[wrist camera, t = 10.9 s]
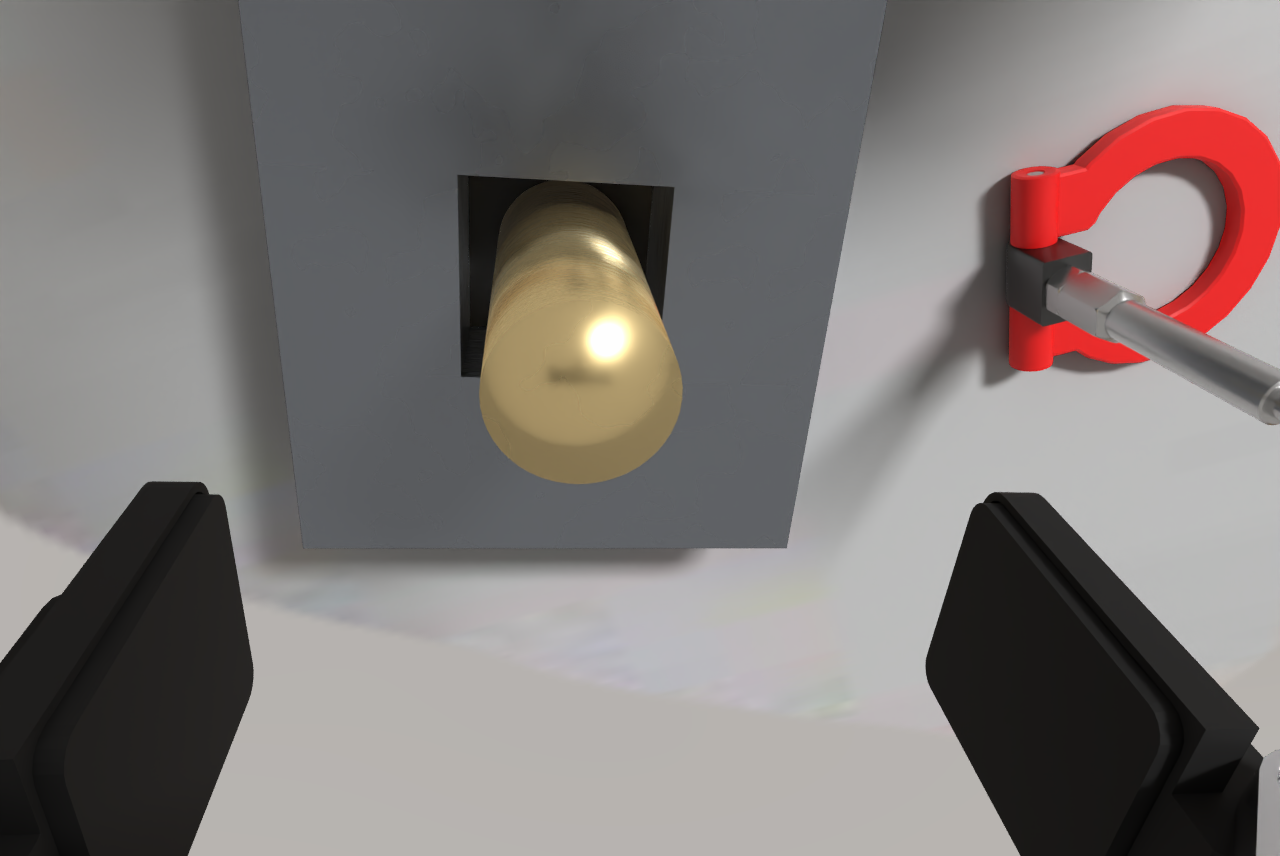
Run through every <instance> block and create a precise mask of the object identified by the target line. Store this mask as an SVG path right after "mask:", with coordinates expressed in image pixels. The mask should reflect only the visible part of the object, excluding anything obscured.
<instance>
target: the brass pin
mask: <svg viewBox="0 0 1280 856" xmlns="http://www.w3.org/2000/svg"><path fill="white" fill-rule="evenodd" d="M682 392H683V386H682V376H681V372H680V368H679V364H678V361H677V359H676V356H675V353H674V351H673V348H672V346H671V343H670V340H669V338H668V335H667V332H666V330H665V327H664V325H663V322H662V319H661V317H660V314H659V312H658V309H657V306H656V304H655V301H654V298H653V296H652V293H651V291H650V288H649V285H648V283H647V280H646V278H645V275H644V272H643V270H642V267H641V265H640V262H639V259H638V257H637V254H636V251H635V249H634V246H633V244H632V241H631V238H630V236H629V233H628V231H627V228H626V225H625V223H624V220H623V218H622V216H621V214H620V212H619V210H618V209H617V207H616V206H615V205H614V203H613V202H612V201H611V200H610V199H609V198H608V197H607V196H606V195H605V194H603V193H602V192H601V191H599V190H598V189H596V188H594V187H592V186H590V185H588V184H585V183H583V182H577V181H559V180H551V181H546V182H543V183H540V184H537V185H535V186H533V187H531V188H529V189H528V190H526V191H525V192H523V193H522V194H521V195H520V196H518V197H517V199H516V200H515V201H514V202H513V203H512V204H511V206H510V207H509V208H508V210H507V212H506V214H505V216H504V217H503V220H502V223H501V226H500V231H499V237H498V244H497V252H496V260H495V268H494V276H493V284H492V291H491V299H490V307H489V315H488V323H487V331H486V338H485V346H484V354H483V362H482V370H481V378H480V388H479V400H480V409H481V413H482V417H483V420H484V423H485V425H486V428H487V430H488V432H489V434H490V436H491V437H492V439H493V441H494V442H495V443H496V445H497V446H498V447H499V449H500V450H501V451H502V452H503V453H504V454H505V455H506V456H507V457H508V458H509V459H510V460H511V461H513V462H514V463H515V464H517V465H518V466H519V467H521V468H523V469H524V470H526V471H528V472H529V473H532V474H534V475H536V476H539V477H541V478H544V479H547V480H551V481H555V482H560V483H567V484H591V483H597V482H603V481H607V480H610V479H614V478H617V477H619V476H622V475H624V474H627V473H628V472H630V471H632V470H634V469H636V468H638V467H639V466H640V465H642V464H643V463H645V462H646V461H647V460H649V459H650V458H651V457H652V456H653V455H654V454H655V453H656V452H657V451H658V450H659V449H660V448H661V446H662V445H663V444H664V443H665V441H666V440H667V438H668V437H669V435H670V434H671V432H672V430H673V428H674V426H675V424H676V422H677V419H678V416H679V413H680V409H681V403H682Z"/></svg>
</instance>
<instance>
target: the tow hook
mask: <svg viewBox="0 0 1280 856" xmlns="http://www.w3.org/2000/svg"><path fill="white" fill-rule="evenodd" d="M1176 158H1195V159H1198V160H1201V161H1202V162H1204V163H1205V164H1206V165H1207V166H1208V167H1210V168H1211V169H1212V170H1213V171H1214V172H1215V173H1216V175H1217V177H1218V179H1219V180H1220V182H1221V184H1222V186H1223V188H1224V193H1225V198H1226V204H1227V212H1226V223H1225V229H1224V232H1223V235H1222V238H1221V241H1220V244H1219V247H1218V249H1217V251H1216V253H1215V255H1214V256H1213V258H1212V260H1211V262H1210V264H1209V265H1208V267H1207V269H1206V270H1205V271H1204V272H1203V273H1202V275H1201V276H1200V277H1199V278H1198V279H1197V281H1196V282H1195V283H1194V284H1193V285H1192V286H1191V287H1190V288H1189V289H1188V290H1186V291H1185V292H1184V293H1183V294H1182V295H1180V296H1179V297H1178V298H1177V299H1176V300H1174V301H1173V302H1171V303H1169V304H1167V305H1165V306H1163V307H1162V308H1160V309H1158V310H1155V309H1153V308H1151V307H1149V306H1147V305H1145V299H1144V297H1143V296H1141V295H1139V294H1137V293H1134V292H1132V291H1130V290H1128V289H1126V288H1124V287H1122V286H1119V285H1117V284H1115V283H1113V282H1111V281H1109V280H1107V279H1104V278H1102V277H1100V276H1098V275H1096V274H1094V273H1092V272H1091V270H1092V253H1091V252H1090V251H1087V250H1085V249H1083V248H1081V247H1078V246H1076V245H1074V244H1071V243H1069V242H1067V241H1065V240H1062V239H1060V238H1058V237H1061V236H1065V235H1069V234H1073V233H1077V232H1081V231H1085V230H1088V229H1089V228H1090V227H1091V226H1092V225H1093V224H1095V222H1096V220H1097V218H1098V216H1099V214H1100V213H1101V211H1102V210H1103V209H1104V208H1105V206H1106V205H1107V204H1108V202H1109V201H1110V200H1111V198H1112V197H1113V196H1114V195H1115V193H1116V192H1117V191H1119V190H1120V189H1121V188H1122V187H1123V186H1124V185H1125V184H1127V183H1128V182H1129V181H1130V180H1131V179H1132V178H1133V177H1135V176H1136V175H1138V174H1140V173H1142V172H1143V171H1145V170H1147V169H1149V168H1150V167H1152V166H1154V165H1156V164H1159V163H1163V162H1166V161H1169V160H1173V159H1176ZM1279 228H1280V161H1279V159H1278V157H1277V155H1276V153H1275V151H1274V149H1273V147H1272V145H1271V143H1270V141H1269V139H1268V137H1267V136H1266V135H1265V134H1264V133H1263V132H1262V131H1260V130H1259V129H1258V128H1257V127H1256V126H1255V125H1254V124H1253V123H1251V122H1250V121H1249V120H1248V119H1247V118H1245V117H1243V116H1240V115H1237V114H1234V113H1231V112H1229V111H1226V110H1223V109H1220V108H1216V107H1210V106H1204V105H1172V106H1168V107H1165V108H1161V109H1158V110H1155V111H1151V112H1148V113H1144V114H1141V115H1138V116H1136V117H1134V118H1133V119H1131V120H1129V121H1127V122H1126V123H1124V124H1122V125H1121V126H1119V127H1117V128H1115V129H1114V130H1112V131H1110V132H1108V133H1107V134H1105V135H1104V136H1103V137H1102V138H1101V139H1100V140H1099V141H1097V142H1096V143H1095V144H1094V145H1093V146H1092V147H1091V148H1090V149H1088V150H1087V151H1086V152H1085V153H1084V154H1083V155H1082V156H1081V157H1080V158H1078V159H1077V160H1076V162H1075V163H1074V164H1073V165H1069V166H1065V167H1060V168H1055V167H1047V166H1038V167H1029V168H1024V169H1021V170H1018V171H1015V172H1013V173H1012V174H1011V214H1010V242H1009V243H1008V245H1007V276H1006V301H1007V304H1008V305H1009V306H1010V308H1009V365H1010V366H1011V367H1012V368H1014V369H1017V370H1021V371H1040V370H1044V369H1047V368H1049V367H1050V366H1051V365H1052V364H1053V356H1057V355H1061V354H1065V353H1069V352H1073V351H1077V352H1078V353H1080V354H1082V355H1083V356H1085V357H1087V358H1091V359H1095V360H1099V361H1103V362H1107V363H1111V364H1120V363H1140V362H1144V361H1148V360H1152V361H1154V362H1156V363H1157V364H1159V365H1161V366H1163V367H1164V368H1166V369H1168V370H1170V371H1172V372H1173V373H1175V374H1177V375H1179V376H1181V377H1182V378H1184V379H1186V380H1188V381H1190V382H1191V383H1193V384H1195V385H1197V386H1198V387H1200V388H1202V389H1204V390H1206V391H1207V392H1209V393H1211V394H1213V395H1215V396H1216V397H1218V398H1220V399H1222V400H1224V401H1225V402H1227V403H1229V404H1231V405H1233V406H1234V407H1236V408H1238V409H1240V410H1241V411H1243V412H1245V413H1247V414H1249V415H1250V416H1252V417H1254V418H1256V419H1258V420H1259V421H1261V422H1263V423H1265V424H1267V425H1278V424H1280V369H1278V368H1276V367H1274V366H1272V365H1270V364H1268V363H1266V362H1263V361H1261V360H1259V359H1257V358H1255V357H1253V356H1251V355H1249V354H1247V353H1245V352H1243V351H1241V350H1238V349H1236V348H1234V347H1232V346H1230V345H1228V344H1226V343H1224V342H1222V341H1220V340H1218V339H1216V338H1213V337H1211V336H1209V335H1207V334H1205V333H1206V332H1208V331H1209V330H1210V329H1211V328H1213V327H1214V326H1215V325H1216V324H1217V323H1219V322H1220V321H1221V320H1222V319H1224V318H1225V317H1226V316H1227V315H1228V314H1229V313H1230V312H1231V311H1232V309H1233V308H1234V307H1235V306H1236V305H1237V304H1238V303H1239V301H1240V300H1241V299H1242V298H1243V297H1244V296H1245V294H1246V293H1247V292H1248V291H1249V290H1250V289H1251V287H1252V285H1253V284H1254V282H1255V280H1256V279H1257V277H1258V275H1259V273H1260V272H1261V270H1262V268H1263V267H1264V265H1265V263H1266V262H1267V260H1268V258H1269V256H1270V253H1271V250H1272V247H1273V245H1274V242H1275V239H1276V236H1277V233H1278V230H1279Z"/></svg>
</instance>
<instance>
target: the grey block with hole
mask: <svg viewBox="0 0 1280 856" xmlns="http://www.w3.org/2000/svg"><path fill="white" fill-rule="evenodd" d="M238 3H239V12H240V20H241V28H242V37H243V45H244V54H245V62H246V71H247V79H248V87H249V96H250V104H251V113H252V121H253V130H254V138H255V146H256V155H257V163H258V172H259V180H260V189H261V197H262V205H263V214H264V222H265V231H266V239H267V248H268V256H269V265H270V273H271V281H272V290H273V298H274V307H275V315H276V324H277V332H278V340H279V349H280V357H281V366H282V374H283V383H284V391H285V399H286V408H287V416H288V425H289V433H290V442H291V450H292V458H293V467H294V475H295V484H296V492H297V501H298V509H299V517H300V526H301V534H302V543H303V548H787V543H788V538H789V532H790V527H791V521H792V516H793V511H794V505H795V500H796V494H797V489H798V483H799V478H800V473H801V467H802V462H803V456H804V451H805V445H806V440H807V434H808V429H809V424H810V418H811V413H812V407H813V402H814V396H815V391H816V386H817V380H818V375H819V369H820V364H821V358H822V353H823V347H824V342H825V337H826V331H827V326H828V320H829V315H830V309H831V304H832V299H833V293H834V288H835V282H836V277H837V271H838V266H839V260H840V255H841V250H842V244H843V239H844V233H845V228H846V222H847V217H848V212H849V206H850V201H851V195H852V190H853V184H854V179H855V173H856V168H857V163H858V157H859V152H860V146H861V141H862V135H863V130H864V125H865V119H866V114H867V108H868V103H869V97H870V92H871V86H872V81H873V76H874V70H875V65H876V59H877V54H878V48H879V43H880V38H881V32H882V27H883V21H884V16H885V10H886V5H887V0H238ZM468 175H470V176H487V177H505V178H523V179H541V180H559V181H577V182H595V183H613V184H630V185H648V186H653V192H652V204H651V216H650V229H649V241H648V253H647V265H646V280H647V283H648V285H649V288H650V291H651V293H652V296H653V298H654V301H655V304H656V306H657V309H658V312H659V314H660V317H661V319H662V322H663V325H664V327H665V330H666V332H667V335H668V338H669V340H670V343H671V346H672V348H673V351H674V353H675V356H676V359H677V361H678V364H679V368H680V372H681V376H682V386H683V392H682V403H681V409H680V413H679V416H678V419H677V422H676V424H675V426H674V428H673V430H672V432H671V434H670V435H669V437H668V438H667V440H666V441H665V443H664V444H663V445H662V446H661V448H660V449H659V450H658V451H657V452H656V453H655V454H654V455H653V456H652V457H651V458H650V459H649V460H647V461H646V462H645V463H643V464H642V465H640V466H639V467H638V468H636V469H634V470H632V471H630V472H628V473H627V474H624V475H622V476H619V477H617V478H614V479H610V480H607V481H603V482H597V483H591V484H567V483H560V482H555V481H551V480H547V479H544V478H541V477H539V476H536V475H534V474H532V473H529V472H528V471H526V470H524V469H523V468H521V467H519V466H518V465H517V464H515V463H514V462H513V461H511V460H510V459H509V458H508V457H507V456H506V455H505V454H504V453H503V452H502V451H501V450H500V449H499V447H498V446H497V445H496V443H495V442H494V441H493V439H492V437H491V436H490V434H489V432H488V430H487V428H486V425H485V423H484V420H483V417H482V413H481V409H480V400H479V388H480V378H481V370H482V362H483V354H484V346H485V338H486V331H487V327H470V275H469V194H468Z"/></svg>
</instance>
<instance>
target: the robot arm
mask: <svg viewBox="0 0 1280 856" xmlns="http://www.w3.org/2000/svg"><path fill="white" fill-rule="evenodd" d="M926 676H927V680H928V683H929V685H930V688H931V690H932V692H933V693H934V695H935V697H936V699H937V701H938V703H939V705H940V706H941V708H942V710H943V712H944V714H945V716H946V718H947V719H948V721H949V723H950V725H951V727H952V729H953V731H954V733H955V734H956V736H957V738H958V740H959V742H960V743H961V745H962V747H963V749H964V751H965V753H966V755H967V757H968V759H969V760H970V762H971V764H972V766H973V768H974V770H975V772H976V774H977V775H978V777H979V779H980V781H981V783H982V785H983V787H984V788H985V790H986V792H987V794H988V796H989V798H990V800H991V801H992V803H993V805H994V807H995V809H996V811H997V813H998V814H999V816H1000V818H1001V820H1002V822H1003V824H1004V826H1005V828H1006V829H1007V831H1008V833H1009V835H1010V837H1011V839H1012V841H1013V843H1014V844H1015V846H1016V848H1017V850H1018V852H1019V854H1020V856H1280V749H1279V750H1275V751H1273V752H1271V753H1270V754H1268V755H1267V756H1265V757H1264V758H1263V757H1262V756H1261V755H1260V753H1259V752H1258V751H1257V750H1256V749H1255V748H1254V747H1253V746H1252V745H1251V742H1252V740H1253V739H1254V737H1255V735H1256V733H1257V732H1258V730H1259V727H1258V726H1257V725H1256V724H1255V723H1254V722H1253V721H1252V720H1251V719H1250V718H1249V717H1248V715H1247V714H1246V713H1245V712H1244V711H1243V710H1242V709H1241V708H1240V707H1239V706H1238V705H1237V704H1236V703H1235V702H1234V700H1233V699H1232V698H1231V697H1230V696H1229V695H1228V694H1227V693H1226V692H1225V691H1224V690H1223V689H1222V688H1221V687H1220V686H1219V684H1218V683H1217V682H1216V681H1215V680H1214V679H1213V678H1212V677H1211V676H1210V675H1209V674H1208V673H1207V672H1206V671H1205V669H1204V668H1203V667H1202V666H1201V665H1200V664H1199V663H1198V662H1197V661H1196V660H1195V659H1194V658H1193V657H1192V656H1191V655H1190V653H1189V652H1188V651H1187V650H1186V649H1185V648H1184V647H1183V646H1182V645H1181V644H1180V643H1179V642H1178V641H1177V640H1176V638H1175V637H1174V636H1173V635H1172V634H1171V633H1170V632H1169V631H1168V630H1167V629H1166V628H1165V627H1164V626H1163V625H1162V624H1161V622H1160V621H1159V620H1158V619H1157V618H1156V617H1155V616H1154V615H1153V614H1152V613H1151V612H1150V611H1149V610H1148V609H1147V608H1146V606H1145V605H1144V604H1143V603H1142V602H1141V601H1140V600H1139V599H1138V598H1137V597H1136V596H1135V595H1134V594H1133V593H1132V591H1131V590H1130V589H1129V588H1128V587H1127V586H1126V585H1125V584H1124V583H1123V582H1122V581H1121V580H1120V579H1119V578H1118V577H1117V575H1116V574H1115V573H1114V572H1113V571H1112V570H1111V569H1110V568H1109V567H1108V566H1107V565H1106V564H1105V563H1104V562H1103V560H1102V559H1101V558H1100V557H1099V556H1098V555H1097V554H1096V553H1095V552H1094V551H1093V550H1092V549H1091V548H1090V547H1089V546H1088V544H1087V543H1086V542H1085V541H1084V540H1083V539H1082V538H1081V537H1080V536H1079V535H1078V534H1077V533H1076V532H1075V531H1074V530H1073V528H1072V527H1071V526H1070V525H1069V524H1068V523H1067V522H1066V521H1065V520H1064V519H1063V518H1062V517H1061V516H1060V515H1059V513H1058V512H1057V511H1056V510H1055V509H1054V508H1053V507H1052V506H1051V505H1050V504H1049V503H1048V502H1047V501H1046V500H1045V499H1044V498H1043V497H1042V496H1041V495H1039V494H1037V493H1012V492H994V493H992V494H989V496H988V497H987V498H986V499H985V501H984V503H979V504H977V505H976V506H975V507H974V508H973V510H972V512H971V514H970V518H969V521H968V524H967V527H966V531H965V534H964V537H963V540H962V544H961V547H960V550H959V553H958V557H957V560H956V563H955V566H954V570H953V573H952V576H951V579H950V582H949V586H948V589H947V592H946V595H945V599H944V602H943V605H942V608H941V612H940V615H939V618H938V621H937V625H936V628H935V631H934V634H933V637H932V641H931V644H930V647H929V650H928V654H927V658H926ZM252 684H253V662H252V656H251V651H250V645H249V639H248V633H247V627H246V621H245V616H244V610H243V604H242V598H241V593H240V587H239V581H238V575H237V570H236V564H235V558H234V552H233V547H232V541H231V535H230V529H229V524H228V518H227V512H226V507H225V503H224V500H223V498H222V496H220V495H212V494H209V492H208V490H207V488H206V486H205V485H204V484H203V483H201V482H153V481H152V482H147V483H146V484H145V485H144V486H143V487H142V488H141V490H140V491H139V492H138V494H137V495H136V496H135V498H134V499H133V500H132V502H131V503H130V504H129V505H128V507H127V508H126V509H125V511H124V512H123V513H122V515H121V516H120V517H119V519H118V520H117V521H116V523H115V524H114V525H113V527H112V528H111V529H110V531H109V532H108V533H107V535H106V536H105V537H104V539H103V540H102V541H101V543H100V544H99V545H98V547H97V548H96V549H95V551H94V552H93V553H92V555H91V556H90V557H89V559H88V560H87V561H86V563H85V564H84V565H83V567H82V568H81V569H80V571H79V572H78V574H77V575H76V576H75V577H74V579H73V580H72V581H71V583H70V584H69V585H68V587H67V588H66V589H65V590H64V592H63V593H62V594H61V595H59V596H56V597H54V598H52V599H51V600H50V601H49V602H48V603H47V604H46V605H45V606H44V607H43V608H42V609H41V611H40V612H39V613H38V614H37V616H36V617H35V618H34V620H33V621H32V622H31V624H30V625H29V626H28V627H27V629H26V630H25V631H24V633H23V634H22V635H21V637H20V638H19V639H18V641H17V642H16V643H15V644H14V646H13V647H12V648H11V650H10V651H9V652H8V654H7V655H6V656H5V657H4V659H3V660H2V662H1V663H0V856H188V853H189V851H190V848H191V846H192V843H193V841H194V838H195V836H196V833H197V830H198V828H199V825H200V823H201V820H202V818H203V815H204V813H205V810H206V808H207V805H208V802H209V800H210V797H211V795H212V792H213V789H214V787H215V785H216V782H217V779H218V777H219V774H220V772H221V769H222V767H223V764H224V762H225V759H226V757H227V754H228V752H229V749H230V746H231V744H232V741H233V739H234V736H235V734H236V731H237V729H238V726H239V724H240V721H241V718H242V716H243V713H244V711H245V708H246V706H247V703H248V701H249V697H250V695H251V691H252V686H253V685H252Z"/></svg>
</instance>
